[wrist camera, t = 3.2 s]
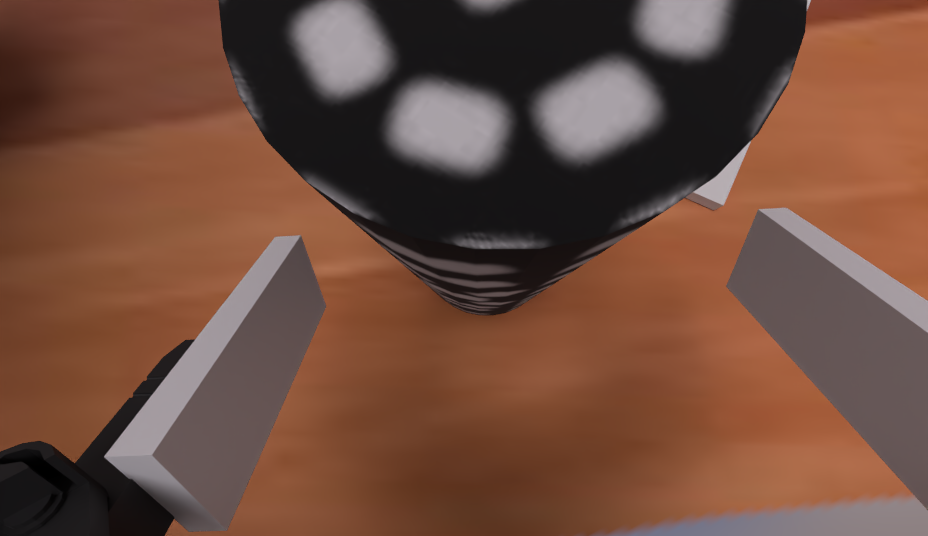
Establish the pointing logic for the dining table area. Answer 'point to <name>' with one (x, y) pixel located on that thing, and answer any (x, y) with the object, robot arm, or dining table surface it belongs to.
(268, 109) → the spotted tube
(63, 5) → the dining table surface
